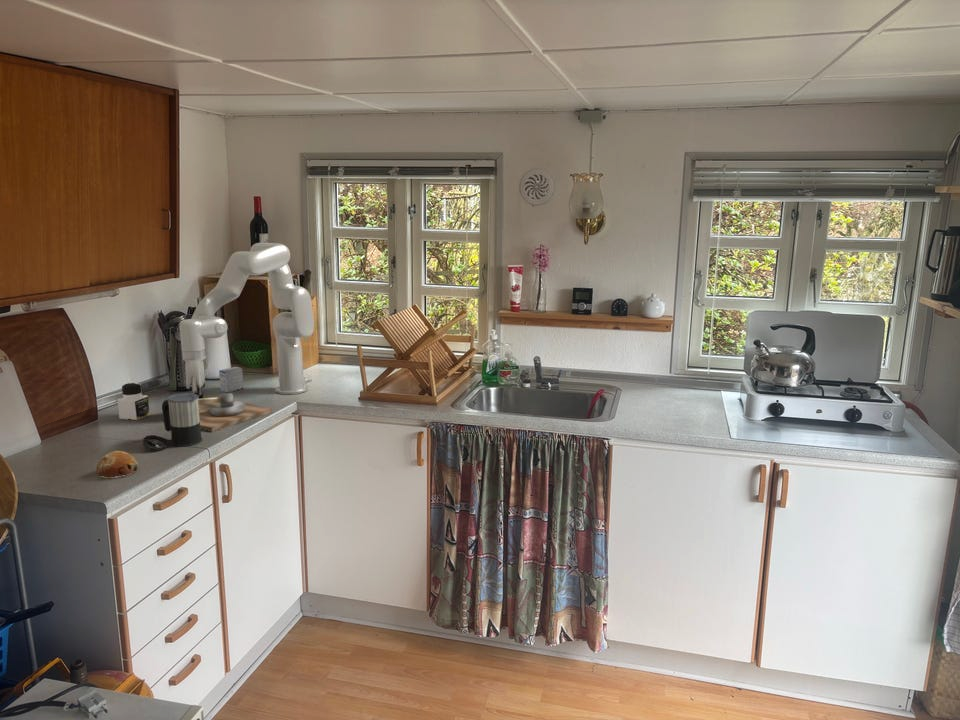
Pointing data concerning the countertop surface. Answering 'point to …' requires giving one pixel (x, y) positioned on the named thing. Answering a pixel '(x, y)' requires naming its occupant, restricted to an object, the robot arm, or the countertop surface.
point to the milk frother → (179, 422)
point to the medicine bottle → (133, 402)
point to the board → (229, 417)
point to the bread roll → (116, 464)
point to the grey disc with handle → (222, 405)
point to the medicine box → (231, 379)
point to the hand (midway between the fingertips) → (199, 405)
